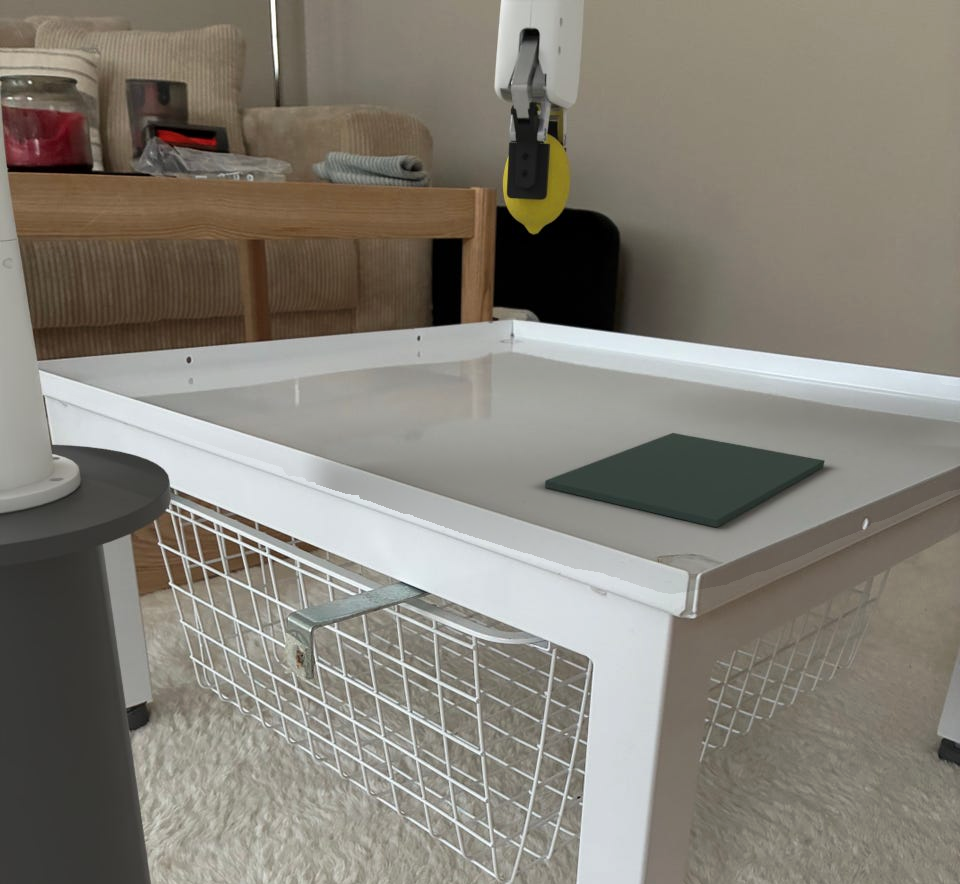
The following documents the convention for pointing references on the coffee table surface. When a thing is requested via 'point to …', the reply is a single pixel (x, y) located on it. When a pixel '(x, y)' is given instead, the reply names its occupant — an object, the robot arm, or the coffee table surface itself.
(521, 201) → the lemon
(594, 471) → the edge mat
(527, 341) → the coffee table surface
